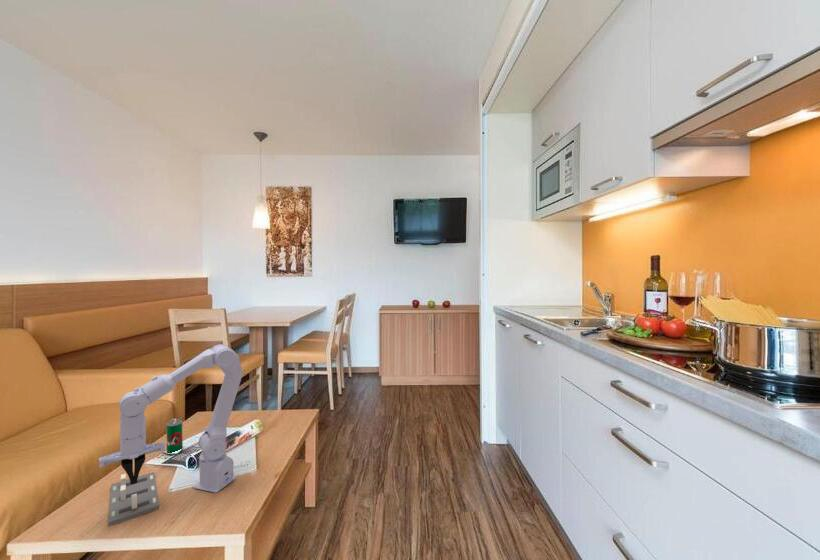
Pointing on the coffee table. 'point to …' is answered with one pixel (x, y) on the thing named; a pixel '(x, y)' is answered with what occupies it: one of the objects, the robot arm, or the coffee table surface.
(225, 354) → the robot arm
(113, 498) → the breaker panel
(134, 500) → the handle
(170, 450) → the soda can
